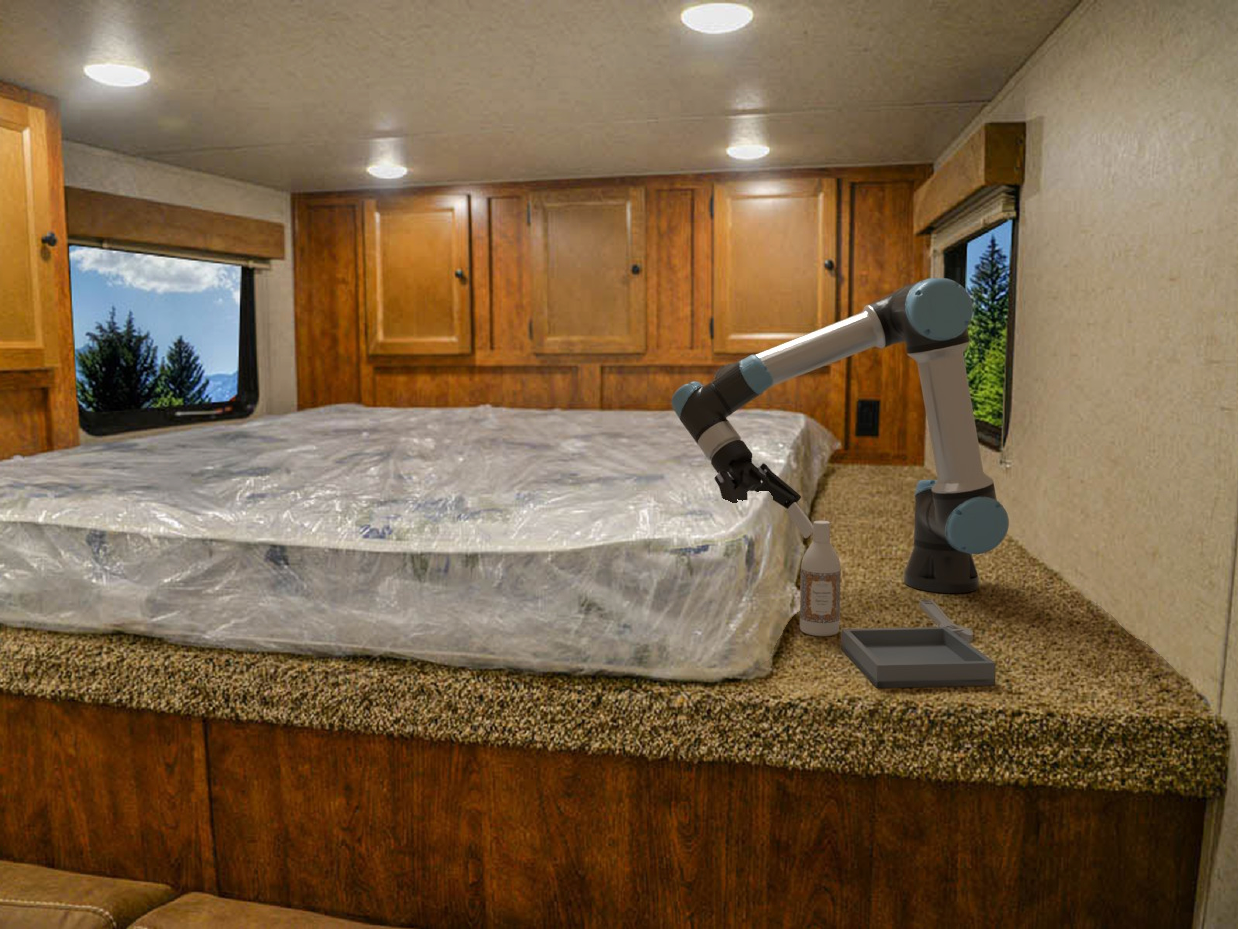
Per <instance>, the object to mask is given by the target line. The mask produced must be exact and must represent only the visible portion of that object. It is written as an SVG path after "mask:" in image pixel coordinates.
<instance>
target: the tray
mask: <svg viewBox="0 0 1238 929" xmlns="http://www.w3.org/2000/svg"><path fill="white" fill-rule="evenodd" d="M840 642H841V644H840V649H841V651H842V652H843V653H844V655H846V657H847V658H848V659H850V661H851V662H852V663H853V664H854V665H855V666H856V667H857V668H858V669H859V670H860V672H862V674H863V675H864V676H865V677H866V679H868V680H869V681H870V682H871V684H872V686H874V687H875V688H876V689H890V688H891V689H892V688H894V689H895V688H897V689H898V688H900V689H901V688H937V687H939V688H941V687H942V688H943V687H949V688H950V687H983V686H984V687H986V686H990V687H991V686H996V664H997V663H996V662H995V661H994V660H993V659H991V658H990V657H988V656H987V655H986V654H984V653H983V652H981V651H980V650H979V649H977V648H976V647H974V645H972V644H971V643H970V642H967V641H965V640H964V639H962V638H961V637H959V636H958V635H957V634H955V633H954V632H953V631H951V630H950V629H948V628H947V627H938V626H936V627H935V626H934V627H930V626H929V627H928V626H926V627H925V626H924V627H923V626H921V627H886V628H885V627H879V628H877V627H875V628H872V627H871V628H841V641H840Z"/></svg>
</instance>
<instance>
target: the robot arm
mask: <svg viewBox="0 0 1238 929" xmlns="http://www.w3.org/2000/svg"><path fill="white" fill-rule="evenodd" d="M973 313H974V307H973V301H972V298H971V296H970V294H969V293H968V291H967V289H965V287H963V285H961V284H960V283H958V282H957V281H955V280H953V279H950V278H946V277H945V278H944V277H932V278H930V277H929V278H926V279H924V280H920V281H917V282H912V283H909V284H907V285H904V286H902V287H901V288H899V289H897V290H895V291H893V292H892V293H889V294H888V295H886V296H883V297H882V298H881V299H878V300H876V301H874V302H871V303H869V304H867V305H865V306H863V309H862V311H861V312H859V313H857V314H854V315H852V316H851V315H850V316H849V317H847V318H844V319H841V320H839V321H837V322H834V323H831V324H829V325H827V326H824V327H821V328H819V329H816V330H813V331H812V332H809V333H806V334H804V335H801V336H798V337H797V338H793V339H791V340H788V341H786V342H783V343H781V344H778V345H776V346H773V347H771V348H768V349H766V350H763V351H761V352H757V353H756V354H750V355H749V356H747V357H745V358H743V359H740V360H738V361H736V362H733V363H727V364H725V365H723V366H721V367H719V369H718V370H717V371H716V373H715V376H714V380H713V381H711V382H709V383H707V384H706V385H703V384H702V383H701V382H699V381H690V382H689V383H685V384H683V385H681V387H679V388H678V389H677V390H676V391H675V392H674V393H673V395H672V397H671V401H670V403H671V408H672V409H673V411H674V412H675V414H676V416H677V417H678V419H679V421H680V422H681V423H682V425H683V426H684V428H685V429H686V430H687V431H688V433H689V435H691V438H692V439H693V440H694V442H695V443H696V444H697V446H699V448H700V449H701V451H702V452H703V454H704V456H705V457H706V458H707V459H708V461H710V464H711V466H712V467H713V469H714V470H715V472H716V473H717V474H716V475H715V476H714V481H715V483H716V484H717V486H718V488H719V492H720V495H721V499H722V498H723V499H725V500H728V501H730V502H732V503H737V502H738V501H737V499H738V500H742V501H743V500H748V499H749V498H748V492H756V493H757V492H759V491H769V492H770V493H771V495H772V496H773V501H774V502H775V503H777V504H779V505H780V506H782V507H783V508H785V509H786V510H785V511H784V512H785V513H786V514H787V516H788V517H789V519H791V522H792V523H793V524H794V525H795V527H796V528H797V530H798V531H799V532H800V533H801V535H802V536H803V538H804V539H807V538H809V537H810V536H811V534H812V535H813V523H812V522H811V520H810V519H809V517H808V516H807V515H806V512H804V510H803V509H802V508H801V506H800V505H799V504H798V502H799V500H801V498H802V496H801V494H799V493H798V492H797V490H795V489H793V488H792V487H791V486H790V485H789V484H788V483H786V481H784V480H783V479H782V478H780V477H779V476H778V475H776V473H775V472H773V471H772V470H771V468H770V467H769V466H768V465H767V464H766V463H763V462H762V463H761V464H760V466H756V465H755V464H754V463H753V453H752V451H751V450H750V448H749V447H748V446H747V444H746V443H745V442H744V441H743V440H742V437H741V436H740V434H739V433H738V432H737V431H736V429H735V428H734V426H733V425H732V424H731V423H730V421H729V420H728V417H729V416H731V415H733V414H734V413H735V412H736V411H738V410H739V409H740V408H743V407H744V406H745V405H747V404H749V403H750V402H751V401H753V400H754V399H756V398H757V397H759V396H761V395H764V393H765V391H767V390H768V389H769V388H771V387H773V386H777V385H779V384H783V383H784V382H786V381H789V380H792V379H793V378H797V377H800V376H802V375H805V374H807V373H809V372H812V371H815V370H818V369H820V368H822V367H825V366H828V365H830V364H833V363H835V362H838V361H841V360H842V359H845V358H848V357H851V356H853V355H855V354H859V353H861V352H864V351H866V350H869V349H872V348H875V347H876V348H878V349H884V348H887V347H890V346H892V345H896V344H900V343H904V344H905V347H906V355H907V356H909V357H910V358H911V359H912V360H914V361H915V362H916V364H917V369H918V375H919V379H920V387H921V392H922V397H923V398H922V399H923V403H924V409H925V416H926V420H927V426H928V431H929V436H930V438H929V439H930V443H931V450H932V454H933V455H932V456H933V459H934V460H933V461H934V465H935V471H936V477H937V479H921V480H919V481H918V482H917V483H916V485H915V493H914V528H913V529H914V533H913V549H912V552H911V554H910V557H909V560H908V561H907V565H906V567H905V570H904V574H903V575H904V576H903V583H904V584H905V585H907V586H908V587H910V588H913V589H917V590H921V591H925V592H926V591H927V592H932V593H933V592H934V593H943V594H945V593H946V594H961V593H963V594H964V593H969V592H970V593H971V592H974V591H976V590H978V589H979V582H980V581H979V580H980V578H979V574H978V571H977V568H976V567H977V566H976V564H975V560H974V557H973V555H982V554H986V553H989V552H991V551H993V550H994V549H996V548H997V547H998V546H1000V544H1001V543H1002V541H1004V540H1005V538H1006V536H1007V534H1008V532H1009V526H1010V521H1009V516H1008V513H1007V510H1006V508H1005V507H1004V505H1003V504H1002V503H1001V502H1000V501H998V499H997V494H996V488H995V482H994V479H993V478H992V477H990V476H989V475H987V474H986V473H985V472H984V468H983V467H984V466H983V463H982V456H981V449H980V445H979V439H978V433H977V427H976V421H975V415H974V408H973V404H972V403H973V402H972V398H971V392H970V386H969V379H968V374H967V368H966V363H965V362H966V361H965V357H964V352H965V350H966V349H967V348H968V347H969V345H970V343H971V341H970V335H969V329H968V327H969V325H970V323H971V321H972V318H973Z"/></svg>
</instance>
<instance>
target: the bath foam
mask: <svg viewBox="0 0 1238 929" xmlns="http://www.w3.org/2000/svg"><path fill="white" fill-rule="evenodd" d="M812 524H813V533H812V542H811V544H810V545H809V546H808V547H807V549H806V550H805V552H804V554H803V558H802V560H801V565H800V589H799V590H800V591H799V592H800V593H799V595H800V598H799V599H800V600H799V602H800V603H799V605H800V606H799V629H800V631H801V632H802V633H803V634H805V635H809V636H815V637H831V636H835V635H837V634H838V633H839V632H840V616H841V614H840V611H841V610H840V609H841V606H840V605H841V578H842V577H841V573H842V572H841V562H840V559H839V556H838V554H837V552H836V550H835V549H834V547H833V545H832V544H831V542H830V540H831V522H830V521H828V520H815V521H814V520H813V523H812Z"/></svg>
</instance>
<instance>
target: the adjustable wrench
mask: <svg viewBox="0 0 1238 929" xmlns="http://www.w3.org/2000/svg"><path fill="white" fill-rule="evenodd" d="M918 604H919V607H920V608H921V609H922V610H923V611H924V612H925V614H926V615H927V616H928V617H929V618H930V619H931V620H932V622H934V623H935V624H936V627H947V628H948V629H950V630H951V631H953V632H954V633H955V634H957V635H958V636H959V637H961V638H962V639H964V640H965V641H966V642H968V643H972V642H973V641H974V632H973V629H972V627H971V628H970V627H965V626H962V625H958V624H955V623H954V622H953V621H952V620H951V619H950V617H949V616H947V615H946V614H945V612H944V611H943V609H942V608H940V607H939V605H938V604H936V602H935V601H934V600H933V599H929V598H921V599H919V603H918Z"/></svg>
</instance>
